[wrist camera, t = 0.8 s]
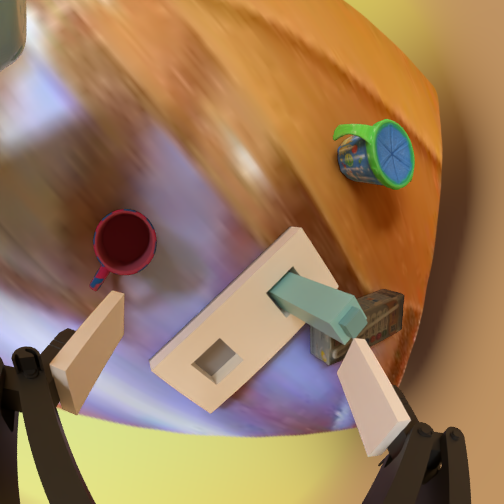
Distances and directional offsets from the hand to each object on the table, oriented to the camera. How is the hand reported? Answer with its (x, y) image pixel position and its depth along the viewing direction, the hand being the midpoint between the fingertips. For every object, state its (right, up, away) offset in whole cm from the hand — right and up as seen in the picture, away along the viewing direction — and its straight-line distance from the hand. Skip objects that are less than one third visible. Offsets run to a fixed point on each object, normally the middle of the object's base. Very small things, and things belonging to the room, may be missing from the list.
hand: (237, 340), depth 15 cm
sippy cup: (+18, +21, +31) cm, 41 cm away
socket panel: (0, -5, +26) cm, 27 cm away
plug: (+5, -1, +27) cm, 28 cm away
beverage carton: (+19, -8, +36) cm, 41 cm away
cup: (-16, +5, +18) cm, 25 cm away
